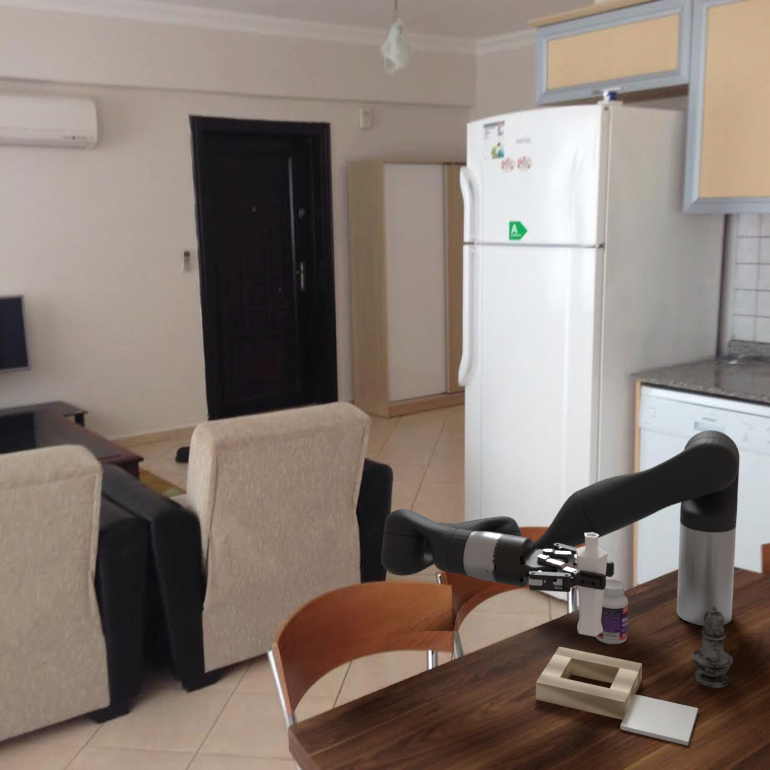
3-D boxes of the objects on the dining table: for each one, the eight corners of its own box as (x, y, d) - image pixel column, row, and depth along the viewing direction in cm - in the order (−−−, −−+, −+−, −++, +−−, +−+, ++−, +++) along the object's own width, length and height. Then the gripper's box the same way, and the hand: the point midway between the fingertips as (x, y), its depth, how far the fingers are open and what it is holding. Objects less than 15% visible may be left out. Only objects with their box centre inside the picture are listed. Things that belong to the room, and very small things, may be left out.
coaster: (634, 697, 128) (634, 694, 128) (697, 712, 124) (697, 708, 124) (620, 729, 120) (620, 725, 120) (688, 745, 116) (688, 741, 116)
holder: (559, 662, 139) (559, 646, 138) (641, 680, 133) (642, 663, 132) (535, 699, 128) (536, 682, 128) (624, 720, 122) (624, 702, 122)
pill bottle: (628, 646, 144) (630, 591, 142) (595, 644, 145) (596, 589, 143) (625, 631, 149) (626, 578, 147) (593, 629, 150) (594, 576, 148)
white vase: (608, 626, 130) (610, 531, 127) (602, 638, 126) (604, 541, 123) (577, 620, 132) (579, 527, 129) (570, 633, 128) (572, 537, 125)
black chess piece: (735, 690, 129) (738, 615, 127) (693, 687, 131) (696, 613, 128) (727, 670, 135) (731, 598, 133) (688, 667, 136) (691, 596, 134)
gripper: (514, 564, 141) (620, 581, 133) (482, 598, 128) (596, 620, 120) (514, 520, 139) (621, 535, 131) (481, 550, 127) (597, 569, 119)
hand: (608, 576), depth 126 cm, fingers closed on white vase, 4 cm apart
